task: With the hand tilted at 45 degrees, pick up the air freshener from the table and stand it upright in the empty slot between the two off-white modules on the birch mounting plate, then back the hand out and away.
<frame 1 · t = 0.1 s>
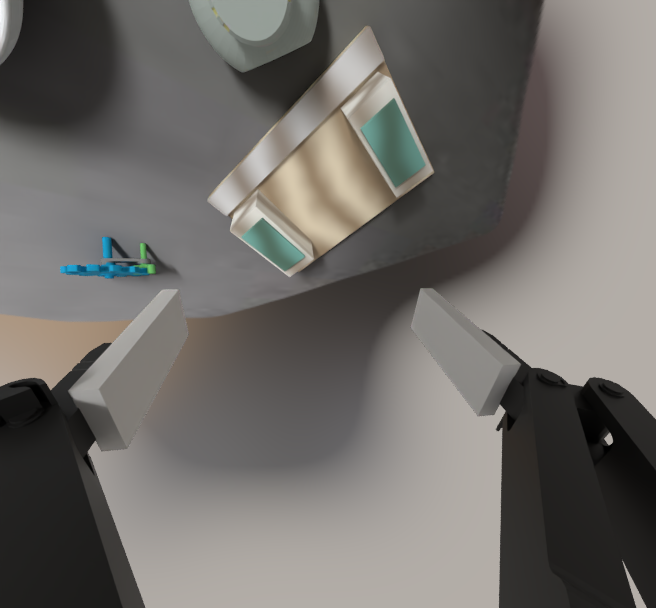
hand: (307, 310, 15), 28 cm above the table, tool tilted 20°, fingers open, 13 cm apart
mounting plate: (322, 182, 37), on the table
gear: (123, 254, 41), on the table
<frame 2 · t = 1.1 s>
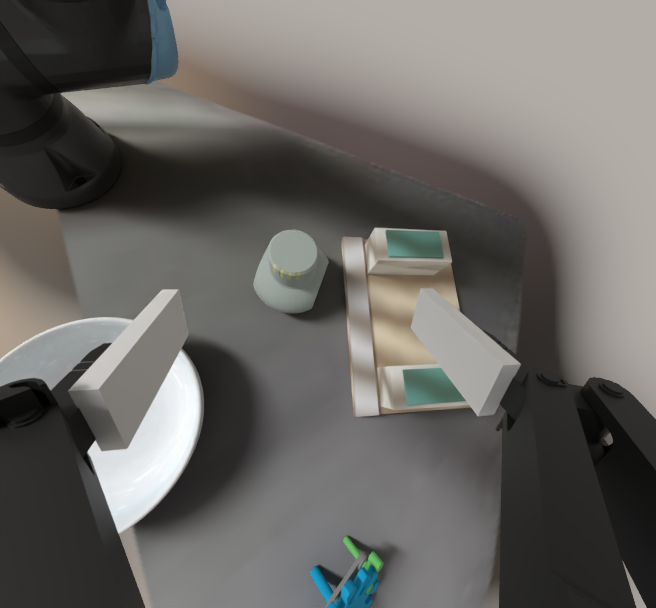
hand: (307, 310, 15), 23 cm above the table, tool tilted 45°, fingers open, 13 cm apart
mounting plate: (404, 319, 40), on the table
air freshener: (291, 282, 39), on the table
serving bowl: (125, 414, 32), on the table
gear: (338, 584, 30), on the table
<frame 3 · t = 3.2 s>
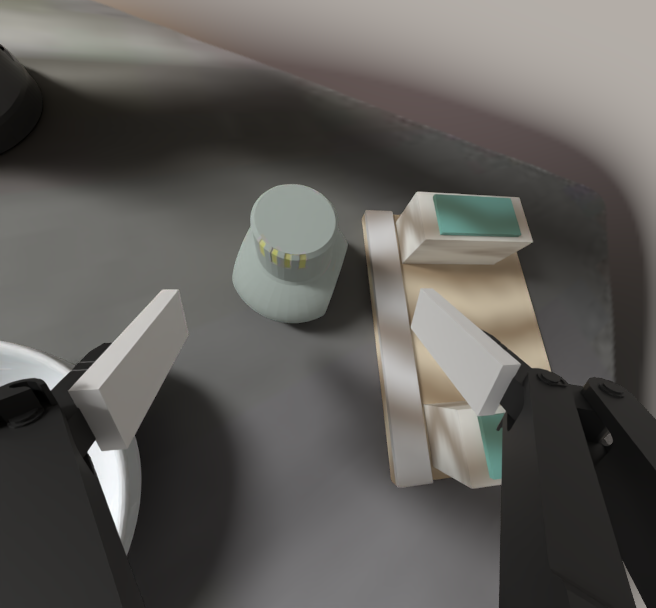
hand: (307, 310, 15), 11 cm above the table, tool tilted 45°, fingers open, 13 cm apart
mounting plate: (456, 329, 28), on the table
air freshener: (292, 277, 27), on the table
serving bowl: (18, 496, 19), on the table
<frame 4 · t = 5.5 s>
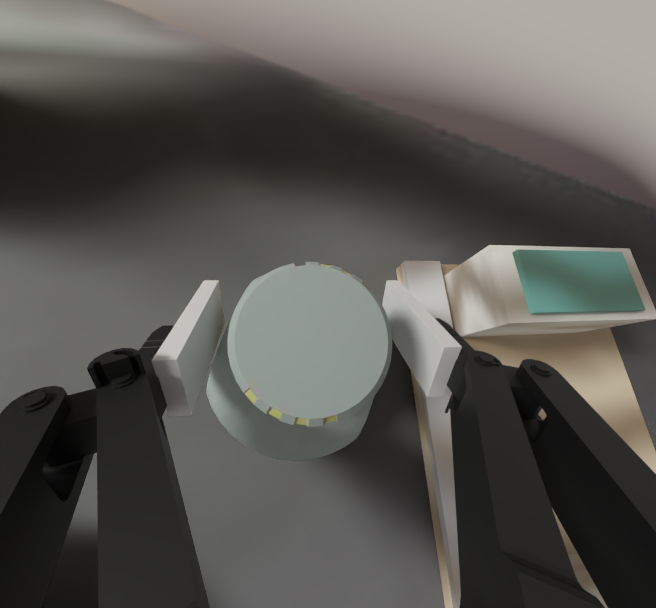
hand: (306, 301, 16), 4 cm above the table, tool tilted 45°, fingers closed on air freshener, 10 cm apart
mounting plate: (532, 430, 20), on the table
air freshener: (299, 360, 19), on the table, touching gripper
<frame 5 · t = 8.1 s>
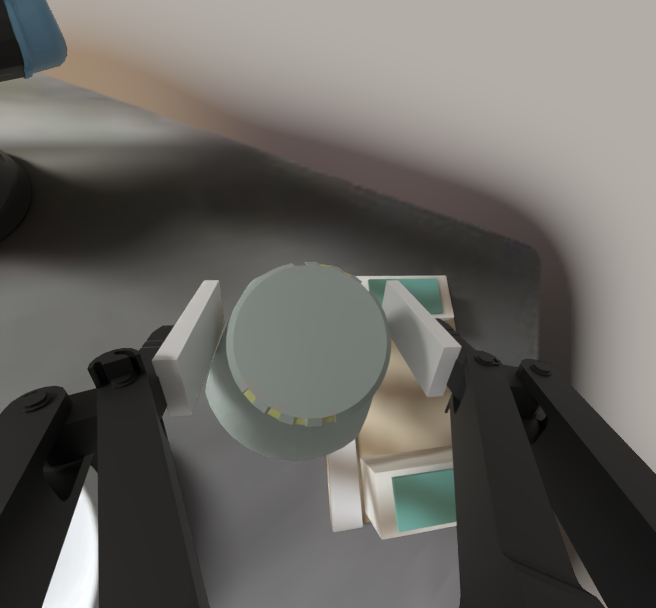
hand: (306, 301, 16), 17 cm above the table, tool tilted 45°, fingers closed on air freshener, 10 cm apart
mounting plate: (395, 385, 32), on the table
air freshener: (298, 360, 19), point 13 cm above the table, touching gripper
serving bowl: (17, 548, 23), on the table
when the fingers open (6 cm above the table, at t = 10.9 s): air freshener stays where it is, resting on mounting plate.
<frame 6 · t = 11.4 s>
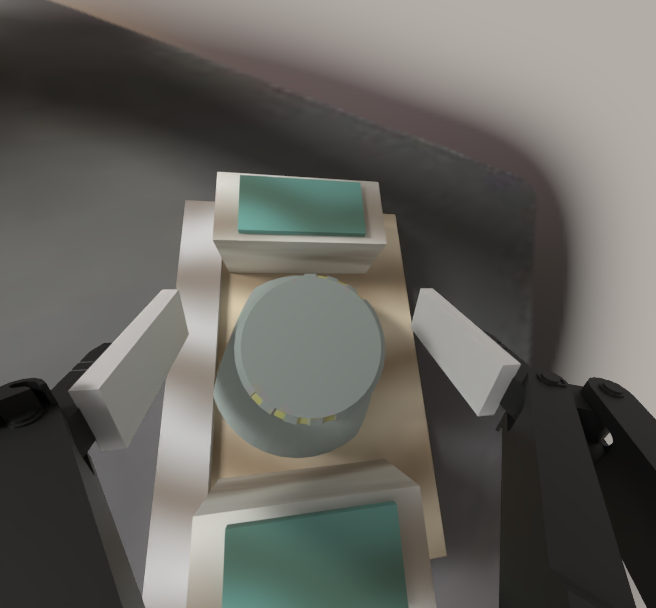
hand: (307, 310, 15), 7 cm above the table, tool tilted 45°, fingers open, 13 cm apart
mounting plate: (302, 361, 20), on the table
air freshener: (300, 362, 20), point 1 cm above the table, touching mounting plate
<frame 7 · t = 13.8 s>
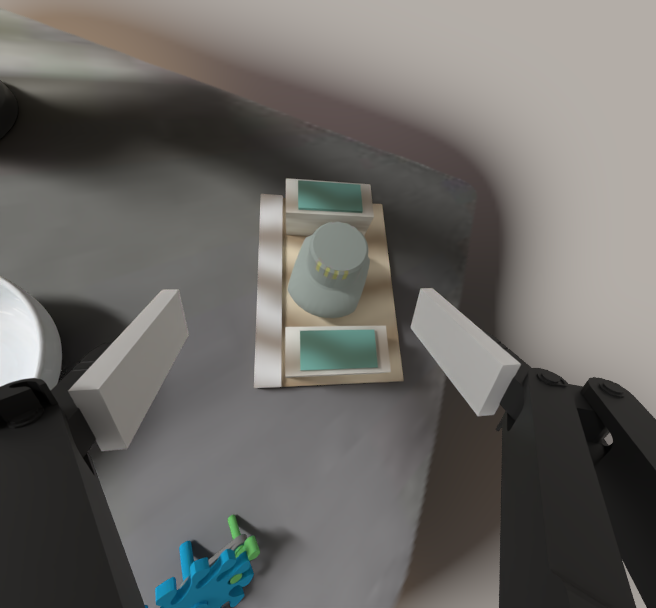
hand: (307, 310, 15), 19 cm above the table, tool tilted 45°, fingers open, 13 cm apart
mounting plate: (326, 285, 36), on the table
air freshener: (325, 283, 35), point 1 cm above the table, touching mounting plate
gear: (212, 568, 26), on the table
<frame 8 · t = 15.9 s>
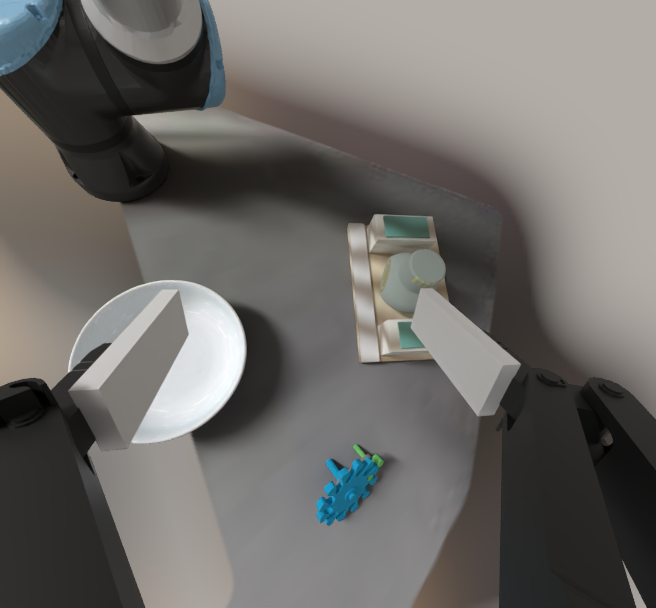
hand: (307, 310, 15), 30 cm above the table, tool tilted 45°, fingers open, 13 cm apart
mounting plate: (399, 289, 49), on the table
air freshener: (400, 288, 48), point 1 cm above the table, touching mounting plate
serving bowl: (182, 359, 40), on the table
gear: (345, 477, 39), on the table
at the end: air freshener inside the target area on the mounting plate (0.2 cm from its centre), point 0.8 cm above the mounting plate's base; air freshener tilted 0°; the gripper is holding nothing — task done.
